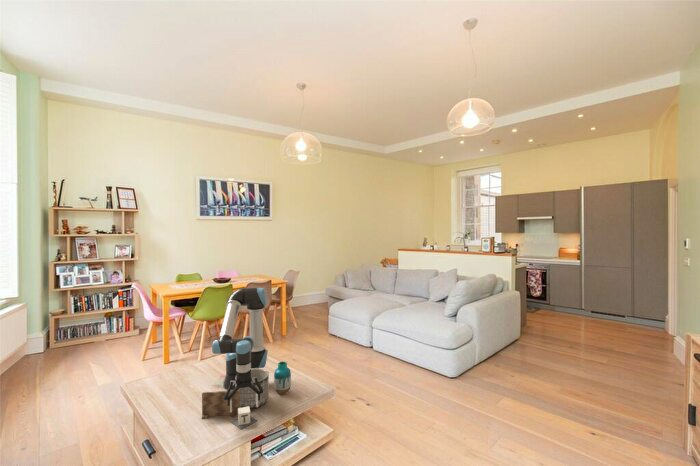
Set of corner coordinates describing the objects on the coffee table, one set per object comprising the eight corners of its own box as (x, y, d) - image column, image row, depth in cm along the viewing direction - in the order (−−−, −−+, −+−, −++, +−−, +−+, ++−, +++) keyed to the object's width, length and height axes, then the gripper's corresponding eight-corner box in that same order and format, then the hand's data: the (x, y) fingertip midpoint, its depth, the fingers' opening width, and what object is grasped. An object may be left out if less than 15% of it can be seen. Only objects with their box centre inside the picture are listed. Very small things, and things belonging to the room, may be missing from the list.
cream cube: (238, 419, 180) (238, 408, 180) (249, 416, 182) (249, 406, 182) (238, 425, 174) (238, 414, 174) (250, 423, 176) (250, 412, 176)
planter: (250, 415, 184) (250, 386, 184) (228, 405, 194) (228, 377, 194) (275, 399, 200) (275, 373, 200) (253, 391, 210) (253, 366, 210)
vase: (287, 397, 203) (287, 367, 202) (271, 396, 205) (271, 365, 204) (293, 389, 213) (293, 360, 212) (278, 387, 215) (278, 359, 215)
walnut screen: (200, 418, 181) (200, 395, 180) (204, 412, 187) (204, 390, 186) (238, 416, 183) (238, 393, 183) (240, 410, 189) (240, 388, 189)
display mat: (230, 422, 177) (230, 421, 177) (246, 414, 185) (246, 413, 185) (241, 429, 171) (241, 428, 171) (257, 420, 179) (257, 420, 179)
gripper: (218, 377, 170) (219, 417, 171) (268, 369, 178) (268, 407, 179) (219, 371, 177) (219, 409, 178) (266, 363, 185) (266, 400, 186)
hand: (244, 408), depth 179 cm, fingers open, 13 cm apart
